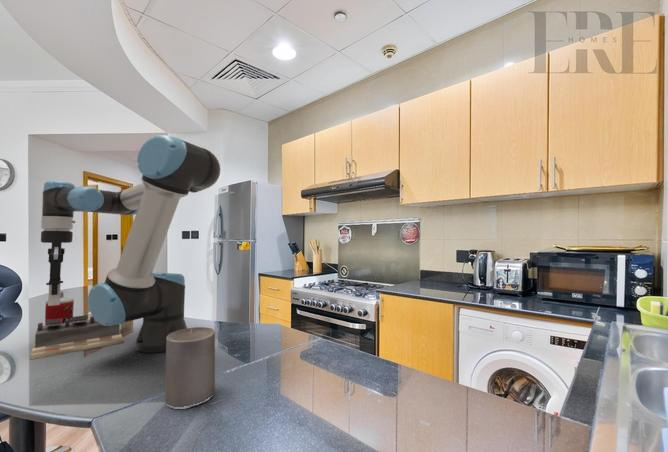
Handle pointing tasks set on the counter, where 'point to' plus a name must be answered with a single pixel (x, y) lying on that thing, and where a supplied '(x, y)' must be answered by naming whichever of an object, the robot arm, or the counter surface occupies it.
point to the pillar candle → (190, 366)
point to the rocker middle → (80, 318)
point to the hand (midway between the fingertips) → (53, 304)
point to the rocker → (54, 321)
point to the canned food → (60, 310)
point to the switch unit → (73, 337)
